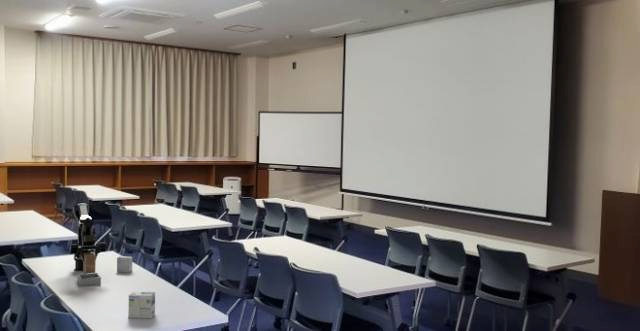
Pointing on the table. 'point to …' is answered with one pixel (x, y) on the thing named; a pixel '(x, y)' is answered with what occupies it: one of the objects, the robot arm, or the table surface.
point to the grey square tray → (89, 279)
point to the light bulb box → (141, 305)
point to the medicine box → (124, 264)
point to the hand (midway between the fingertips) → (89, 260)
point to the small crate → (89, 263)
